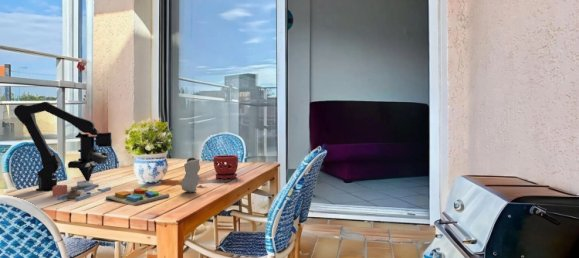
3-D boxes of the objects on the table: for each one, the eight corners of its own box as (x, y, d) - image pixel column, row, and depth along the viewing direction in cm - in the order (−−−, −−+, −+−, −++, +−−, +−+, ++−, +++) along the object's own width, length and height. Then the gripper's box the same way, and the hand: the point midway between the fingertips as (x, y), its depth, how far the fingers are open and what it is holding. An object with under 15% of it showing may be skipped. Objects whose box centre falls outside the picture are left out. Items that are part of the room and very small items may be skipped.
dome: (73, 187, 170) (73, 182, 170) (83, 184, 176) (83, 180, 176) (86, 188, 169) (86, 183, 169) (96, 185, 175) (95, 180, 175)
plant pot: (241, 176, 208) (241, 154, 207) (232, 180, 195) (232, 157, 194) (219, 175, 211) (219, 153, 210) (209, 179, 198) (209, 156, 197)
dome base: (71, 189, 169) (70, 187, 169) (83, 185, 177) (82, 183, 177) (87, 190, 168) (87, 188, 168) (98, 186, 176) (98, 184, 176)
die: (52, 196, 156) (52, 186, 155) (57, 194, 159) (57, 184, 159) (62, 196, 156) (62, 186, 156) (67, 194, 160) (67, 184, 160)
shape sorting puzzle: (135, 207, 142) (135, 198, 142) (104, 200, 151) (104, 192, 151) (171, 198, 157) (171, 189, 157) (140, 192, 166) (140, 185, 166)
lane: (57, 199, 150) (56, 195, 150) (91, 188, 170) (91, 185, 170) (78, 200, 148) (78, 196, 148) (110, 189, 169) (110, 186, 169)
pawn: (65, 199, 151) (65, 189, 150) (73, 196, 155) (72, 187, 155) (75, 200, 150) (75, 190, 150) (82, 197, 154) (82, 187, 154)
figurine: (204, 190, 170) (204, 157, 169) (190, 195, 161) (190, 160, 160) (189, 188, 173) (189, 156, 173) (174, 193, 164) (174, 159, 164)
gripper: (90, 149, 163) (90, 185, 164) (115, 145, 182) (115, 177, 183) (66, 149, 165) (67, 184, 166) (94, 145, 183) (94, 177, 184)
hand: (87, 180), depth 174 cm, fingers closed, pressing on dome
